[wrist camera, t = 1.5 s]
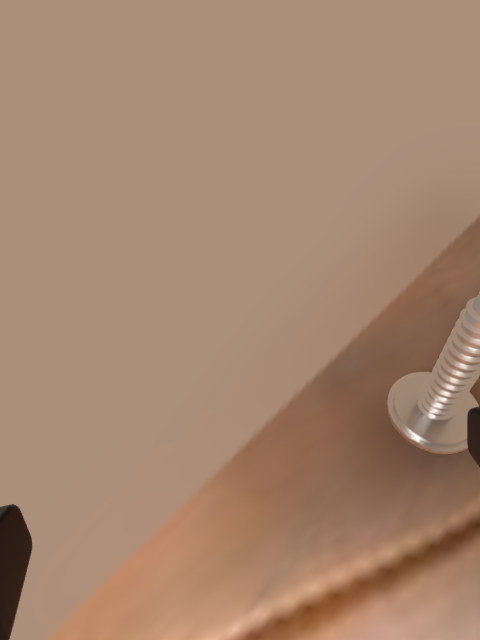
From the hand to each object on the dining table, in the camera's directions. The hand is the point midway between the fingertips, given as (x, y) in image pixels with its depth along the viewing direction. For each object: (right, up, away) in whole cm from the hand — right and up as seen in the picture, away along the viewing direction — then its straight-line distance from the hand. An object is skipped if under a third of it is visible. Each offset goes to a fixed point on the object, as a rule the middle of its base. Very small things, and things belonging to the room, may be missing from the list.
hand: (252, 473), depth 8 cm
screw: (+11, -3, +16) cm, 19 cm away
